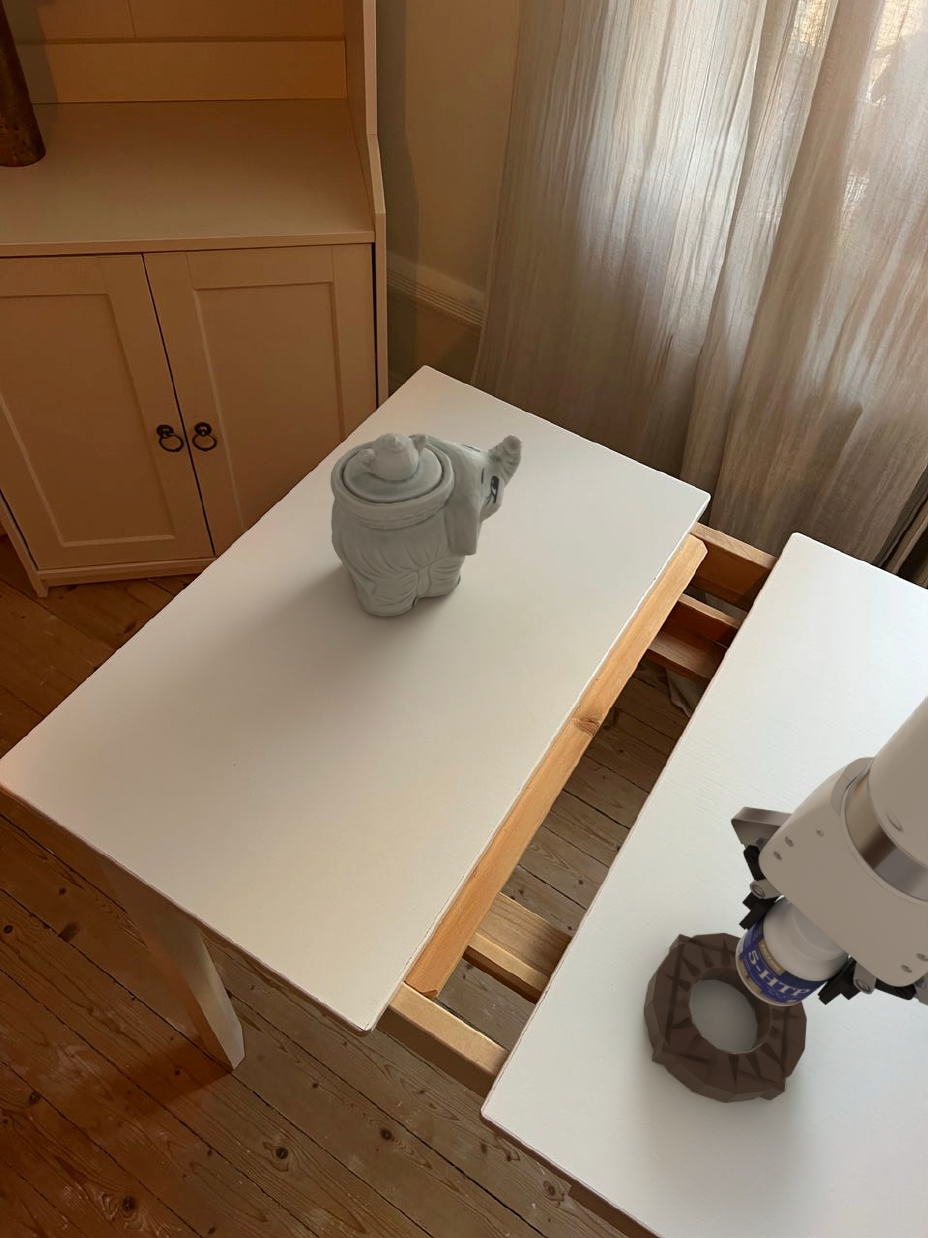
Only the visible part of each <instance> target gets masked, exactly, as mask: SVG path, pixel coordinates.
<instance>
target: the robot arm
mask: <svg viewBox="0 0 928 1238" xmlns="http://www.w3.org/2000/svg"><path fill="white" fill-rule="evenodd" d="M730 824H731V826H732V828H733V831H734V832H735V835H736V836H737V839H738V841H739V843H740V844H741V845H743V847H744V849H743V851H742V854H743V857H744V860H745V862H746V864H747V867H748V869H749V872H750V874H751V876H752V878H753V879H752V881H751V883H750V884H749V889H750V892H749V893H748V895H746V896H745V898H743V900H742V902H741V904H743V905H744V906H745V907H746V908H747V909H748V910H749V911H748V913H746V915H745V916H744V917H743V918H742V920H741V921H740V922H739V923H738V926H740V928H742V929H743V930H744V931H746V930H747V931H749V930H750V929H751V928H752V927H753V926H754V925H755V923H756V922H757V921H758V920H759V919H760V918H761V917H762V916H763V915H764V914H765V913H766V912H767V910H768V909H769V908H770V907H771V906H772V905H773V904H774V903H775V902H776V901H777V900H779V899H780V898H781V897H784V896H785V897H786V898H787V899H788V900H789V901H790V902H791V903H792V904H793V905H794V906H795V907H797V908H798V909H799V910H800V911H801V912H802V913H803V914H804V915H805V916H806V917H808V918H809V919H810V920H811V921H812V922H813V923H814V924H815V925H816V926H818V927H819V928H820V929H821V930H822V931H823V932H824V933H825V934H827V935H828V936H829V937H830V938H831V939H832V940H833V941H834V942H836V943H837V944H838V945H839V946H840V947H841V948H842V949H843V950H845V951H846V952H847V953H848V954H849V958H848V960H847V962H846V964H845V966H844V967H843V968H842V970H841V971H840V972H839V973H837V974H836V975H835V976H834V977H833V978H831V979H830V980H829V981H827V982H826V983H825V984H823V985H822V986H823V987H822V988H821V989H820V990H819V992H817V996H818V1000H819V1001H820V1002H821V1003H822V1004H823V1005H824V1006H826V1005H828V1004H830V1002H832V1001H834V999H836V998H837V997H839V995H842V996H843V997H844V998H845V999H846V1000H847V1001H850V1000H851V999H852V998H854V997H856V996H857V995H858V994H860V993H861V992H862V993H863V994H866V995H872V994H873V992H874V991H875V990H877V991H880V992H883V993H885V994H888V995H891V996H893V997H896V998H899V999H901V1000H904V1001H912V1000H913V998H914V999H916V1000H918V1003H920V1004H923V1005H925V1006H927V1007H928V694H927V695H926V696H925V698H923V700H922V701H921V702H920V703H919V705H918V706H917V707H916V708H915V709H914V710H913V711H912V713H911V714H910V715H909V716H908V717H907V718H906V720H905V721H904V722H903V723H902V724H901V725H900V727H899V728H898V729H897V730H896V731H895V732H894V733H893V734H892V735H891V737H890V738H889V739H888V740H887V741H886V743H885V744H884V745H883V746H882V747H881V749H880V750H879V751H878V752H877V753H876V755H874V756H865V757H860V758H857V759H854V760H852V761H851V762H849V763H847V764H846V765H843V766H842V767H840V768H839V769H837V770H836V771H835V772H833V773H832V774H831V775H829V776H828V777H827V778H826V779H825V780H824V781H822V783H820V784H819V785H818V786H817V787H816V788H815V789H814V790H812V792H811V793H810V794H809V795H808V796H807V797H806V798H805V799H804V800H803V801H802V802H801V803H800V804H799V806H797V808H796V809H795V810H794V811H793V812H786V811H779V810H773V809H765V808H758V807H752V806H743V807H742V808H741V809H740V810H739V811H738V812H737V813H735V815H734V816H733V817H732V818H731V819H730Z"/></svg>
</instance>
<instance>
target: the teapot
mask: <svg viewBox="0 0 928 1238" xmlns="http://www.w3.org/2000/svg"><path fill="white" fill-rule="evenodd" d="M522 457H523V442H522V439H521V438H520V437H519V436H518V435H515V434H509V435H507V436H505V438H503V440H502V441H501V442H499V443H497V444H496V445H494V446H493V447H491V448H489V449H481V448H479V447H476V446H473V445H470V444H468V443H463V442H453V441H449V440H446V439H444V438H440V437H438V436H435V435H431V434H426V433H414V434H411V435H409V436H407V435H405V434H402V433H398V432H387V433H384V434H382V435H380V436H379V437H377V438H376V439H375V440H371V441H367V442H364V443H362V444H359V445H356V446H354V447H352V448H351V449H348V451H346V453H344V454H343V455H342V456H341V457H340V458H339V459H337V461H336V462H335V464H334V465H333V467H332V470H331V472H330V482H329V483H330V488H331V492H332V495H333V498H334V500H333V503H332V507H331V519H330V526H331V544H332V547H333V549H334V551H335V554H336V556H337V557H338V559H339V560H340V561H341V562H342V564H343V565H344V566H345V568H346V569H347V570H348V572H349V576H350V578H351V580H352V581H353V584H354V585H355V587H356V592H357V597H358V600H359V603H360V605H361V606H362V608H363V609H364V610H365V611H366V612H367V613H369V614H371V615H373V616H379V617H394V616H395V617H396V616H399V615H402V614H404V613H406V612H408V611H410V610H411V609H412V608H414V607H415V606H416V604H417V602H418V601H419V600H420V599H421V598H427V597H440V596H443V595H447V594H449V593H451V592H453V591H454V590H455V589H456V588H457V587H458V586H459V585H460V583H461V581H462V574H461V573H462V572H461V569H462V567H463V564H464V562H465V560H466V556H473V555H476V554H477V550H478V544H479V539H480V534H481V531H482V530H481V529H482V525H483V522H484V521H486V520H487V519H489V518H490V517H492V516H493V515H494V514H495V513H497V512H498V511H499V510H500V508H501V507H502V505H503V500H504V493H505V489H506V487H507V486H508V484H509V482H510V481H511V480H512V478H513V477H514V475H515V474H516V472H517V470H518V468H519V466H520V464H521V460H522Z"/></svg>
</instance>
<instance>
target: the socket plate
mask: <svg viewBox="0 0 928 1238" xmlns="http://www.w3.org/2000/svg"><path fill="white" fill-rule="evenodd" d="M741 938H742V937H740V936H737V935H734V934H730V933H727V932H713V933H699V934H695V935H693V936H689V935H685V934H681V933H679V934H678V935H677V937H676V938H675V939H674V941H672V943H671V945H670V946H669V948H668V949H669V950H668V953H667V954H666V956H665V957H664V958H663V960H662V961H661V963H660V964H659V966H658V967H657V969H656V970H655V971H654V973H653V975H652V976H651V977H650V979H649V981H648V983H647V988H646V994H645V1001H644V1006H643V1015H644V1020H645V1024H646V1029H647V1034H648V1038H649V1042H650V1045H651V1046H652V1048H653V1050H652V1056H651V1062H652V1063H656V1064H659V1065H662V1066H664V1068H665V1070H666V1071H667V1072H668V1073H669V1074H670V1075H671V1076H673V1078H674V1079H676V1080H677V1081H679V1082H680V1083H681V1084H682V1085H683V1086H685V1087H686V1089H689V1091H691V1092H692V1093H694V1094H696V1095H699V1096H703V1097H706V1098H708V1099H712V1100H715V1101H718V1102H721V1103H725V1104H726V1103H727V1104H728V1103H737V1102H746V1101H753V1100H756V1099H757V1098H758V1097H759V1098H762V1099H765V1100H769V1101H772V1100H774V1099H776V1098H777V1097H779V1096H781V1095H782V1094H784V1093H785V1092H786V1083H787V1079H788V1078H789V1077H790V1076H792V1074H793V1072H794V1070H795V1069H796V1067H797V1065H798V1064H799V1061H800V1060H801V1058H802V1057H803V1054H804V1052H805V1049H806V1040H807V1039H806V1036H807V1024H808V1022H807V1021H808V1019H807V1017H808V1016H807V1013H806V1011H805V1007H804V1004H803V1000H802V1001H801V1002H799V1003H797V1004H794V1005H790V1006H777V1005H773V1004H769V1003H767V1002H765V1001H763V1000H761V999H759V998H758V997H757V996H755V995H754V994H753V993H752V992H751V991H750V990H749V989H748V988H747V987H746V985H745V984H744V982H743V981H742V979H741V977H740V975H739V973H738V970H737V966H736V949H737V946H738V943H739V941H740V939H741ZM713 980H714V981H715V980H716V981H719V982H722V983H725V984H728V985H730V986H732V987H733V988H735V989H736V990H737V991H738V992H740V993H741V994H742V995H743V996H744V997H745V999H746V1000H747V1001H748V1003H749V1005H750V1006H751V1007H752V1009H753V1013H754V1017H755V1021H756V1024H757V1027H756V1028H757V1029H756V1036H755V1037H756V1038H755V1039H756V1040H755V1042H754V1043H753V1044H752V1047H751V1049H750V1050H749V1051H741V1052H739V1051H738V1052H731V1051H728V1050H725V1049H721V1048H718V1047H717V1046H716V1045H714V1044H713V1043H712V1042H711V1041H709V1040H708V1039H707V1038H706V1037H704V1036H703V1035H702V1034H701V1032H700V1030H699V1029H698V1027H697V1025H696V1024H695V1022H694V1020H693V1015H692V1012H691V1007H690V1001H691V994H692V988H693V987H694V985H695V986H696V984H698V983H700V982H702V981H713Z"/></svg>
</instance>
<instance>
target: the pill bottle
mask: <svg viewBox="0 0 928 1238" xmlns="http://www.w3.org/2000/svg"><path fill="white" fill-rule="evenodd" d="M740 938H741V939H740V941H739V943H738V946H737V949H736V966H737V970H738V973H739V975H740V977H741V979H742V981H743V982H744V984H745V985H746V987H747V988H748V989H749V990H750V991H751V992H752V993H753V994H754V995H755V996H757V997H758V998H759V999H761V1000H763V1001H765V1002H767V1003H769V1004H773V1005H777V1006H790V1005H794V1004H797V1003H799V1002H801V1001H802V1002H803V1001H804V1000H805V999H807V998H808V997H809V996H811V995H812V994H813V993H815V992H816V991H817V990H818V989H820V988H821V987H822V986H824V985H825V984H826V983H827V981H829V980H830V979H831V978H833V977H834V976H835V975H836V974H837V973H839V972H840V971H841V970H842V968H843V967H844V966H845V964H846V962H847V960H848V958H849V957H850V955H849V954H848V953H847V952H846V951H845V950H843V949H842V948H841V947H840V946H839V945H838V944H837V943H836V942H834V941H833V940H832V939H831V938H830V937H829V936H828V935H827V934H825V933H824V932H823V931H822V930H821V929H820V928H819V927H818V926H816V925H815V924H814V923H813V922H812V921H811V920H810V919H809V918H808V917H806V916H805V915H804V914H803V913H802V912H801V911H800V910H799V909H798V908H797V907H795V906H794V905H793V904H792V903H791V902H790V901H789V900H788V899H787V898H786V897H785V896H781V897H779V898H778V899H777V900H776V902H775V903H774V904H773V905H772V906H771V907H770V908H769V909H768V910H767V912H766V913H765V914H764V915H763V916H762V917H761V918H760V919H759V920H758V921H757V922H756V923H755V925H754V926H753V927H752V928H751V929H750V930H749V931H748V930H747V931H746V932H744V934H743V935H742V936H741V937H740Z"/></svg>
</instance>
